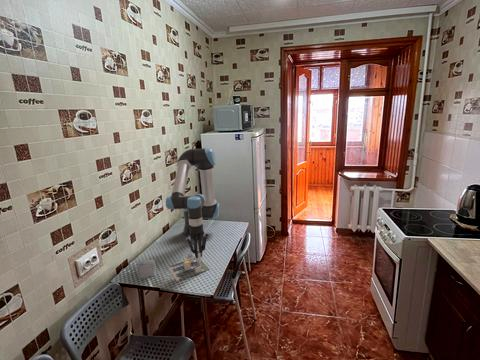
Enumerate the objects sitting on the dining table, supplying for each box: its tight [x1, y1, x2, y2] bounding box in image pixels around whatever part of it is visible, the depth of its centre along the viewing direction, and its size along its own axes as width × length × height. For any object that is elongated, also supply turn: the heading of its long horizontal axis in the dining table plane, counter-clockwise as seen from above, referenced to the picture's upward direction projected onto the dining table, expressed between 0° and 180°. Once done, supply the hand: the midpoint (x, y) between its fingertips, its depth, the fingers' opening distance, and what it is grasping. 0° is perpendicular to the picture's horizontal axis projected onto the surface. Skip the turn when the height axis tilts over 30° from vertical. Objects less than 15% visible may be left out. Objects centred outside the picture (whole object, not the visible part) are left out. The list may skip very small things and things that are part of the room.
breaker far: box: [186, 253, 195, 263], centre depth 153 cm, size 3×3×4 cm
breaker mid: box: [183, 260, 192, 271], centre depth 146 cm, size 3×3×4 cm
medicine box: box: [137, 259, 157, 279], centre depth 143 cm, size 8×4×9 cm, turn 92°
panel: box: [168, 257, 211, 282], centre depth 148 cm, size 16×22×2 cm
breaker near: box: [193, 262, 203, 274], centre depth 143 cm, size 3×3×4 cm
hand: (199, 262), depth 149 cm, fingers closed
